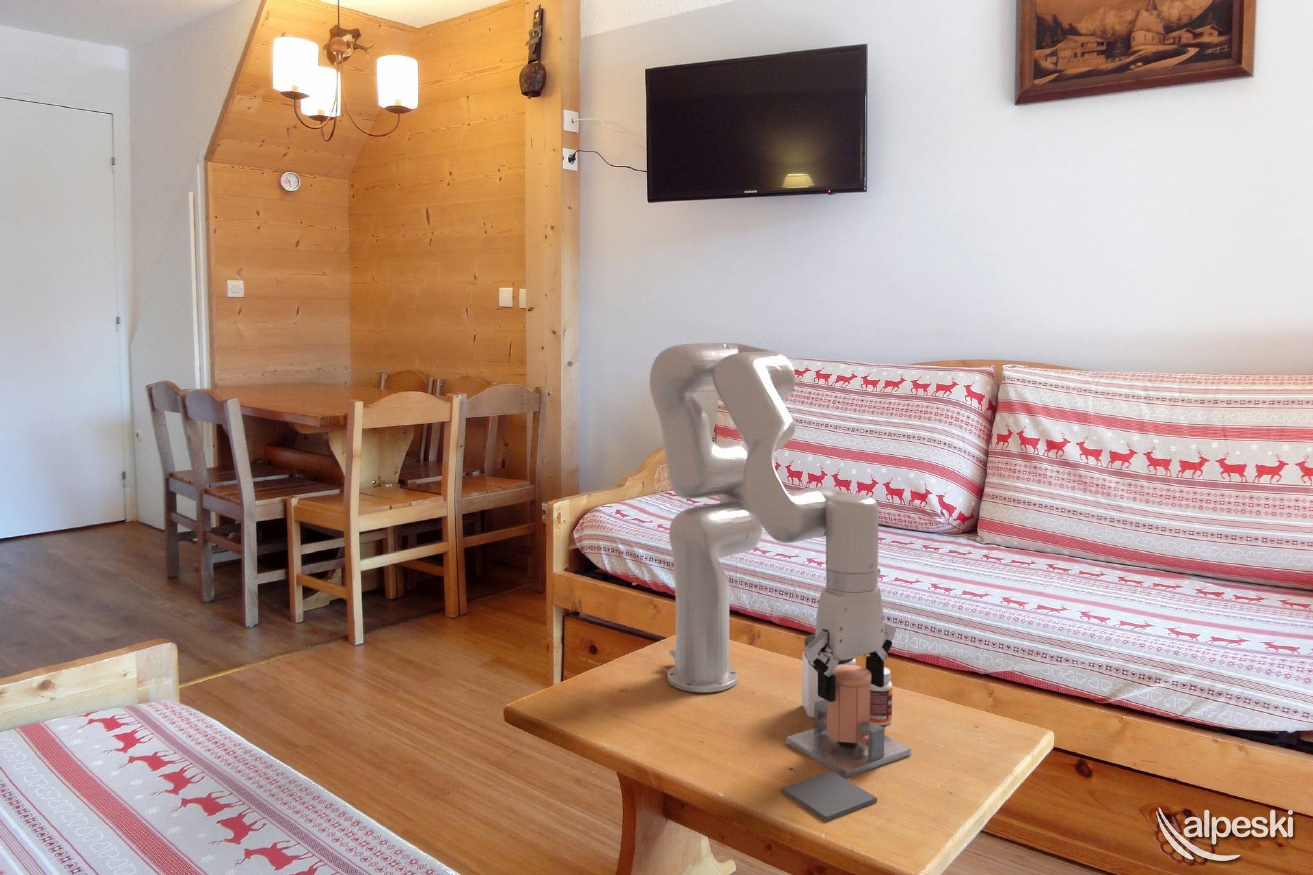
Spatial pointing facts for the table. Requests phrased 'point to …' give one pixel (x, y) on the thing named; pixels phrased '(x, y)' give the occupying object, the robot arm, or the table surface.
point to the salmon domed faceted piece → (849, 705)
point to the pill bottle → (881, 701)
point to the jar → (813, 680)
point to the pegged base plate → (847, 746)
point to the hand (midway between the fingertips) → (851, 691)
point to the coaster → (829, 795)
